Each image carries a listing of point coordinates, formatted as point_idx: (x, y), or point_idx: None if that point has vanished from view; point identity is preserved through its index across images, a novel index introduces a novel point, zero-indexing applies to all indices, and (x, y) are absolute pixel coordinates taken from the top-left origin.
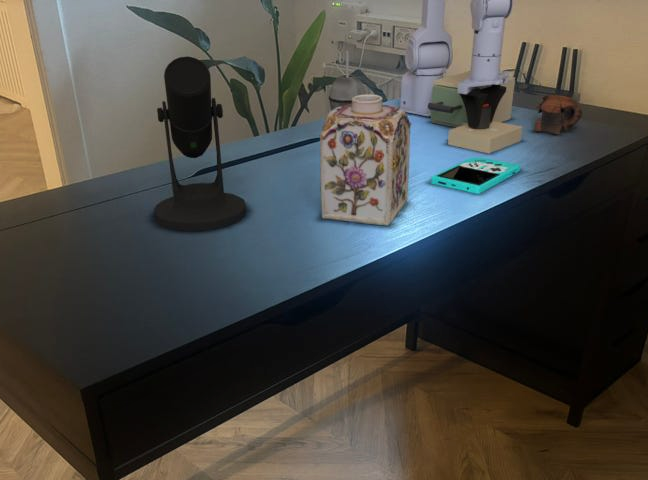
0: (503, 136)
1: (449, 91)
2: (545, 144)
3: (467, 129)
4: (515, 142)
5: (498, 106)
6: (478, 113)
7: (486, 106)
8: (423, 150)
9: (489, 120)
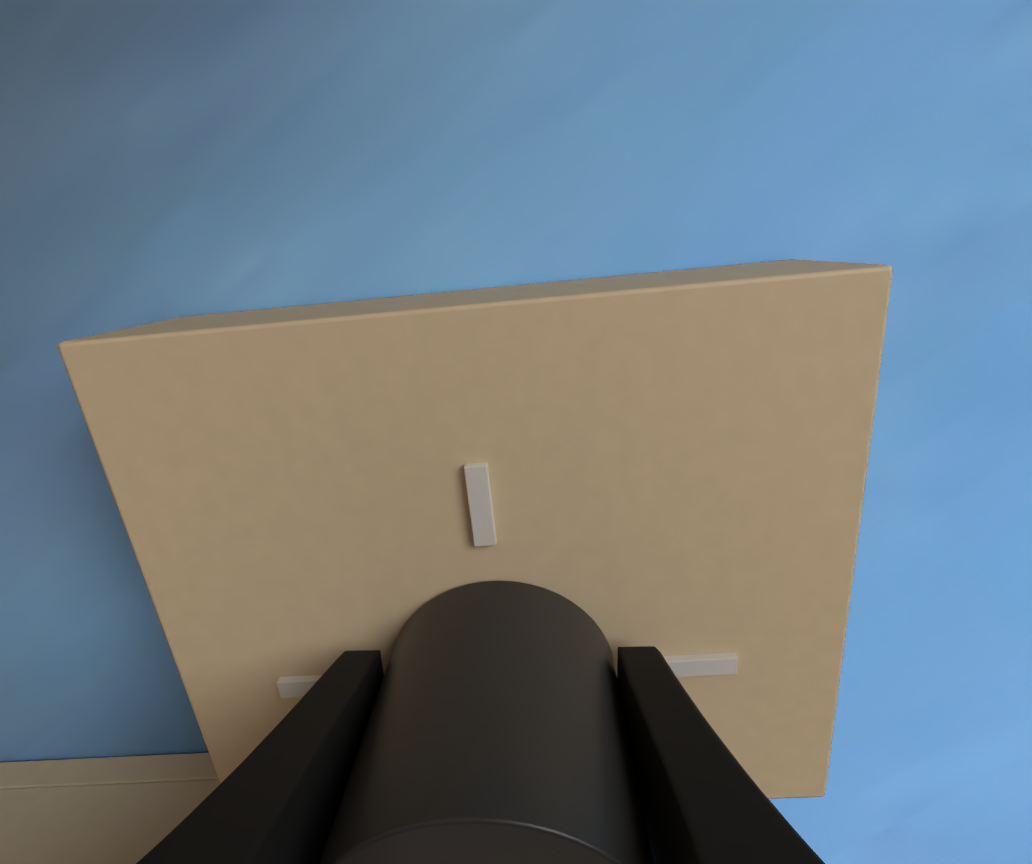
0: (541, 293)
1: None
2: (24, 28)
3: None
4: (278, 309)
5: None
6: (768, 801)
7: None
8: (1025, 708)
9: (461, 647)
